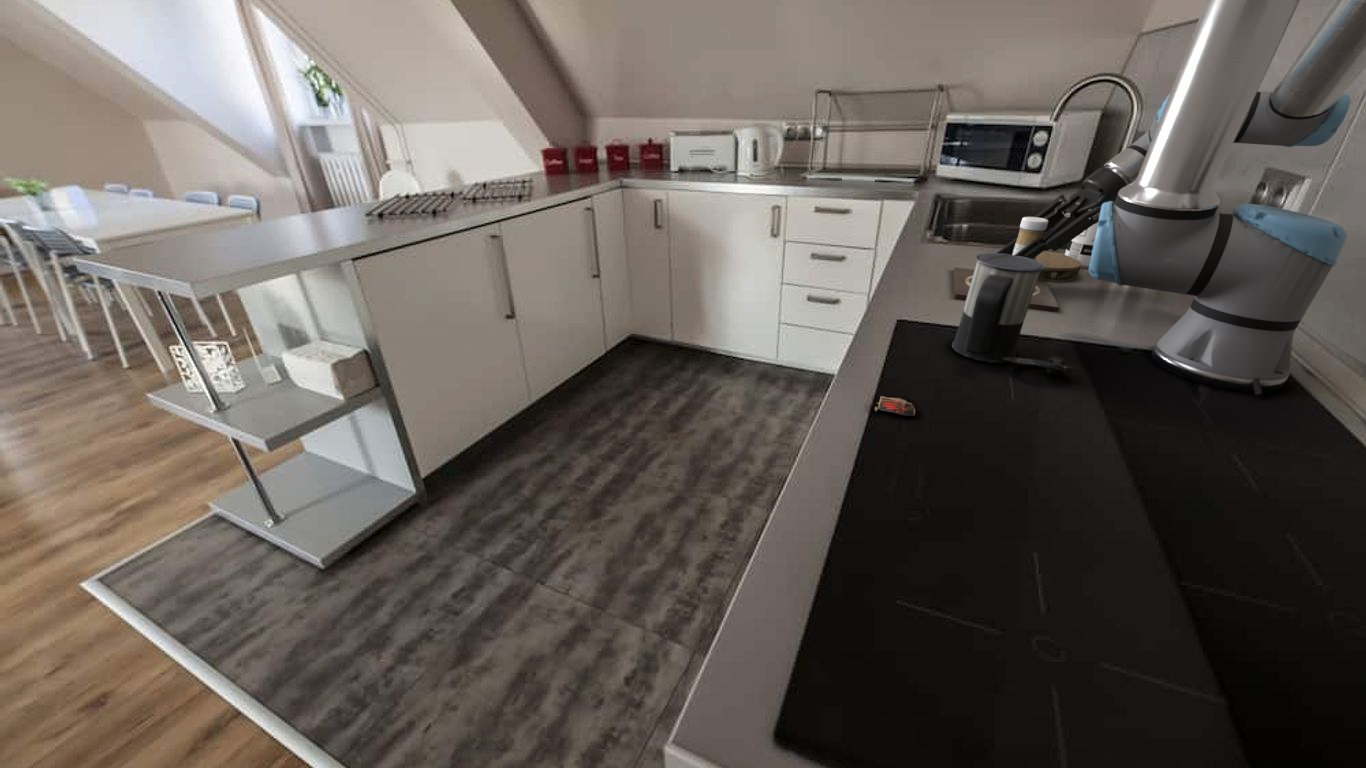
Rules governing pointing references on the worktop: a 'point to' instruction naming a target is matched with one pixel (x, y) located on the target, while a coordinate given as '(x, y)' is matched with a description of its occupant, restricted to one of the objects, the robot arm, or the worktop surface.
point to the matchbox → (896, 406)
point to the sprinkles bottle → (1030, 232)
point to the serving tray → (1039, 300)
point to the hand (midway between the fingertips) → (1002, 263)
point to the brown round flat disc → (1058, 267)
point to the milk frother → (1000, 311)
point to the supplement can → (1082, 246)
